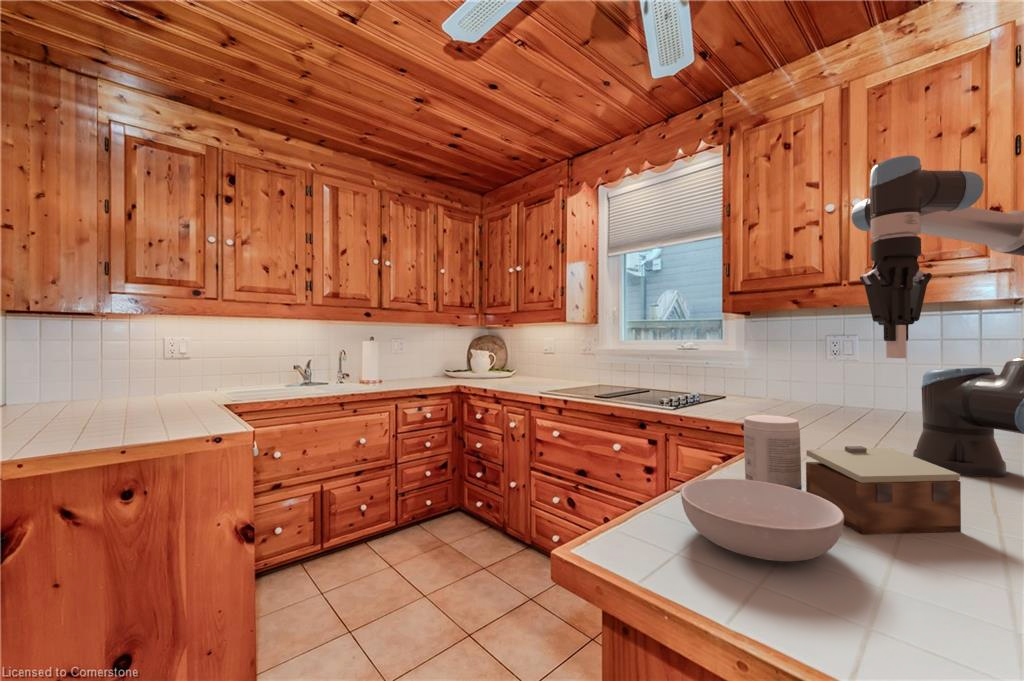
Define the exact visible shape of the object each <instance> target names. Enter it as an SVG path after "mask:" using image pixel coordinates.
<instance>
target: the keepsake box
mask: <svg viewBox="0 0 1024 681" xmlns="http://www.w3.org/2000/svg"><path fill="white" fill-rule="evenodd" d="M805 482H806V485H805V487H806V488H805V492H808V493H811V494H814V495H816V496H819V497H821V498H823V499H825V500H828V501H829V502H831V503H833V504H834V505H836V506H837V507H838V508H839V509H840V510H841V511H842V512H843V514H844V523H843V527H844V526H845V527H846V528H849V529H850V530H852V531H854V532H856V533H858V534H860V535H861V536H864V535H865V536H866V535H897V534H898V535H899V534H900V535H903V534H904V535H905V534H930V533H931V534H934V533H936V534H937V533H938V534H939V533H940V534H941V533H961V532H962V527H961V526H962V508H961V507H962V506H961V505H962V503H961V492H962V491H961V483H962V482H961V481H960V480H955V481H912V482H869V483H860V482H858V481H856V480H854V479H852V478H850V477H849V476H847V475H845V474H843V473H841V472H839V471H837V470H835V469H833V468H831V467H829V466H827V465H825V464H823V463H821V462H819V461H805Z"/></svg>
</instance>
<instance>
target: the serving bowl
mask: <svg viewBox="0 0 1024 681" xmlns="http://www.w3.org/2000/svg"><path fill="white" fill-rule="evenodd" d="M680 498H681V502H682V506H683V510H684V513H685V515H686V517H687V520H689V522H690V524H691V525H692V526H693V528H695V530H696V531H697V532H698V533H699V534H701V535H702V536H703V537H704V538H706V539H707V540H708V541H711V543H713V544H716V545H717V546H719V547H721V548H723V549H726V550H728V551H731V552H733V553H737V554H740V555H743V556H747V557H751V558H756V559H760V560H767V561H775V562H796V561H797V562H799V561H805V560H810V559H814V558H818V557H820V556H822V555H823V554H826V553H827V552H828V551H830V550H831V549H832V548H833V547H834V546H835V545H836V544H837V542H838V541H839V539H840V537H841V534H842V532H843V527H844V525H843V523H844V514H843V512H842V511H841V510H840V509H839V508H838V507H837V506H836V505H834V504H833V503H831V502H829V501H828V500H825V499H823V498H821V497H819V496H816V495H814V494H811V493H808V492H806V490H798V489H795V488H791V487H787V486H782V485H778V484H772V483H766V482H760V481H752V480H745V479H742V478H741V479H739V478H724V477H722V478H720V477H719V478H706V479H699V480H694V481H691V482H688V483H687V484H685V485H683V487H682V488H681V490H680Z"/></svg>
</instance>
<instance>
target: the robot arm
mask: <svg viewBox="0 0 1024 681" xmlns="http://www.w3.org/2000/svg"><path fill="white" fill-rule="evenodd" d="M869 177H870V178H869V179H870V180H869V187H868V188H869V197H868V198H865V199H863V200H861V201H859V202H857V203H856V204H855V205H854V207H853V208H852V210H851V217H850V218H851V222H852V224H853V226H854V227H855V228H857V229H858V230H860V231H863V232H869V231H870V240H871V241H873V242H872V243H871V244H870V260H871V261H873V264H872V266H871V270H870V271H868V273H865V274H861V275H860V276H859V279H860V281H861V283H862V284H863V286H864V289H865V293H866V297H867V303H868V306H869V310H870V313H871V318H872V321H873V322H874V323H878V325H879V326H882V327H883V341H884V342H886V344H885V348H886V349H885V350H886V351H885V352H886V359H907V342H908V340H909V326H910V325H914V324H915V322H919V321H920V317H921V313H922V309H923V305H924V304H923V303H924V301H925V297H926V296H925V295H926V292H927V286H928V284H929V283H930V281H931V280H932V277H933V275H932V273H931V272H926V273H925V272H923V271H922V270H920V264H919V262H918V258H919V257H920V256H921V255H922V239H921V237H920V236H919V235H926V236H931V237H937V238H943V239H946V240H947V239H949V240H953V241H954V240H955V241H958V242H959V241H960V242H964V243H965V242H967V243H971V244H977V245H981V246H987V248H988V249H989V250H990V251H993V252H997V253H1003V254H1007V255H1014V256H1021V257H1024V210H1020V209H1018V210H1011V211H1008V212H1004V211H1003V212H1002V211H997V210H992V209H986V208H980V207H974V206H973V205H975V204H976V203H977V202H978V201H979V199H980V198H981V196H982V195H983V193H984V186H985V184H984V179H983V178H982V176H981V175H980V174H978V173H977V172H974V171H967V170H966V171H965V170H960V169H956V170H927V169H922V164H921V159H920V158H919V157H918V156H916V155H902V156H901V155H900V156H896V157H891V158H888V159H886V160H882V161H880V162H878V163H877V164H875V165H874V166H873V167H872V169H871V170H870V176H869ZM920 387H921V409H922V410H921V411H922V432H921V434H920V437H919V438H918V442H917V443H916V448H915V449H914V450H913V452H912V456H913V457H916V458H919V459H921V460H924V461H927V462H929V463H932V464H934V465H937V466H940V467H942V468H945V469H948V470H950V471H953V472H956V473H958V474H960V475H965V476H971V477H972V476H973V477H989V478H995V477H997V478H998V477H1004V476H1006V475H1007V463H1006V461H1005V460H1003V457H1002V456H1003V455H1002V453H1001V451H1000V449H999V446H998V444H997V441H996V438H995V430H999V431H1003V432H1010V433H1014V434H1015V433H1017V434H1023V435H1024V350H1023V351H1022V353H1021V355H1020V356H1019V357H1016V358H1012V359H1009V360H1007V361H1006V362H1005V364H1004V366H1003V368H1002V370H1001V372H1000V374H996V372H994V369H993V368H992V367H960V368H940V369H939V368H938V369H930V370H926V372H924V374H923V375H922V385H921V386H920Z"/></svg>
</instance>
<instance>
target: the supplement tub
mask: <svg viewBox="0 0 1024 681" xmlns="http://www.w3.org/2000/svg"><path fill="white" fill-rule="evenodd" d="M743 420H744V421H743V422H744V423H743V442H744V443H743V444H744V447H743V449H744V474H745V476H744V477H745V478H744V480H752V481H760V482H766V483H772V484H778V485H782V486H787V487H791V488H795V489H798V490H802V460H801V459H802V457H801V456H802V454H801V452H802V451H801V430H800V426H799V425H800V424H799V423H800V422H799V420H798V419H796V418H793V417H790V416H789V417H788V416H783V415H769V414H768V415H767V414H766V415H765V414H757V415H755V414H754V415H752V414H751V415H746V416H745V417H744V419H743ZM802 491H803V490H802Z"/></svg>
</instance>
